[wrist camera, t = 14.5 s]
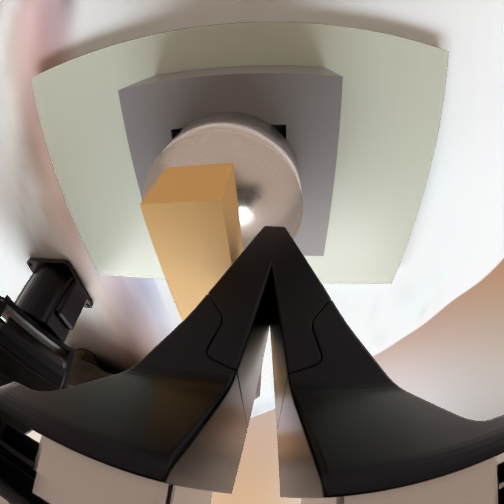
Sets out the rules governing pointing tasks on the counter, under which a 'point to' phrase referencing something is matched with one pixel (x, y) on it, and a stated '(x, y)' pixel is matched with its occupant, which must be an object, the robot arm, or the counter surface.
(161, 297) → the counter surface
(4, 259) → the counter surface
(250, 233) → the pin
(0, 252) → the counter surface
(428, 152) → the block
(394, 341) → the counter surface
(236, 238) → the bar
